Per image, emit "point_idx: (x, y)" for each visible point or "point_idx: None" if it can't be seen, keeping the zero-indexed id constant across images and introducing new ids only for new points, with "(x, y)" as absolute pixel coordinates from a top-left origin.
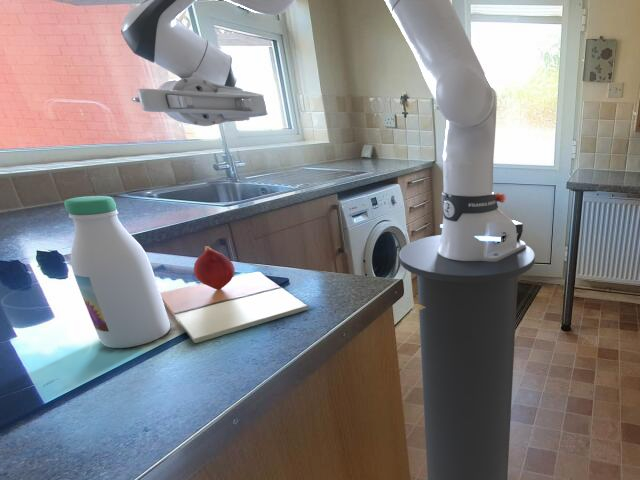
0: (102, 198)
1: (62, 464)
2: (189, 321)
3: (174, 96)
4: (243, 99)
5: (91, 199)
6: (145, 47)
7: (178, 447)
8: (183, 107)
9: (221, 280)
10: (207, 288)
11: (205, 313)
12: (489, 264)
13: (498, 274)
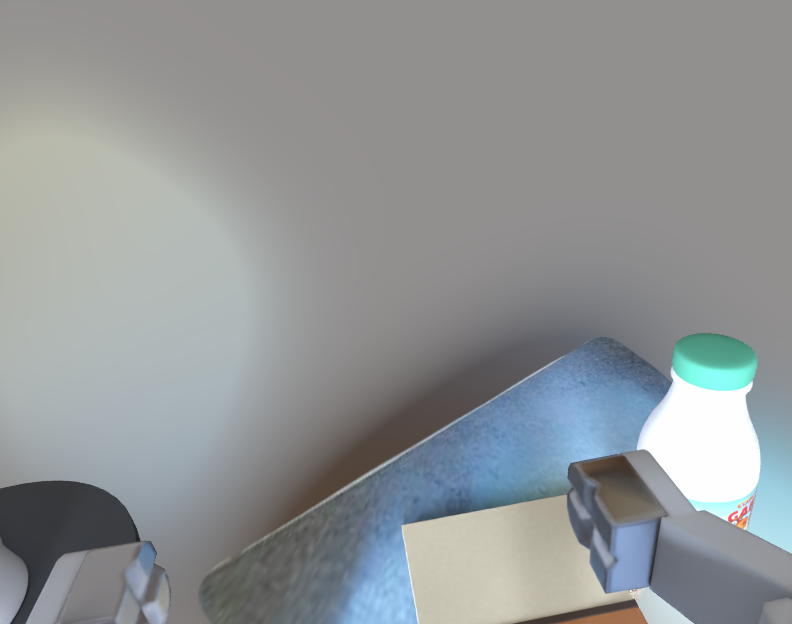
0: (689, 345)
1: (631, 373)
2: None
3: (746, 539)
4: (130, 547)
5: (703, 342)
6: None
7: (552, 362)
8: (672, 603)
9: None
10: None
11: (573, 573)
12: (21, 524)
13: (70, 482)
